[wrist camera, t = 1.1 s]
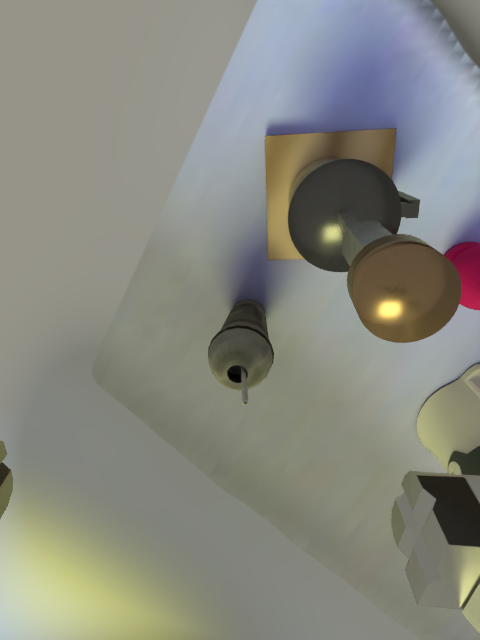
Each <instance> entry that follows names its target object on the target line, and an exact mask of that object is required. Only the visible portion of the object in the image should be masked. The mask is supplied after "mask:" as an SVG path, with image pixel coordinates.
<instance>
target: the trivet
mask: <svg viewBox="0 0 480 640" xmlns="http://www.w3.org/2000/svg"><path fill="white" fill-rule="evenodd" d="M395 137H396V128H392V129H376V130H359V131H342V132H325V133H308V134H292V135H275V136H265V152H266V189H267V226H268V260H281V259H304V258H303V257H302V256H301V255H300V253H299V252H298V251H297V249H296V248H295V246H294V244H293V242H292V240H291V237H290V233H289V228H288V209H289V202H288V198H289V191H290V187H291V184H292V182H293V180H294V178H295V177H296V175H297V174H298V173H299V172H300V170H301V169H303V168H304V167H305V166H306V165H307V164H309V163H311V162H312V161H315V160H317V159H320V158H325V157H337V158H342V159H357V160H362V161H365V162H369V163H371V164H373V165H375V166H377V167H378V168H380V169H381V170H383V171H384V172H385V173H386V174H387V175H388V176H389V177H390V179H391V180H392V172H393V160H394V149H395Z"/></svg>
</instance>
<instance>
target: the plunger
mask: <svg viewBox="0 0 480 640" xmlns="http://www.w3.org/2000/svg"><path fill="white" fill-rule="evenodd" d="M342 254H343V255H344V257H345V259H346V261H347V263H348V264H349V266H350V268H349V271H348V276H347V287H348V292H349V295H350V298H351V300H352V302H353V304H354V307H355V309H356V311H357V313H358V315H359V318H360V320H361V321H362V323H363V324H364V326H365V327H366V328H367V329H368V330H369V331H370V332H371V333H373V334H374V335H376V336H377V337H379V338H381V339H384V340H387V341H391V342H398V343H406V342H414V341H418V340H421V339H424V338H427V337H429V336H431V335H433V334H434V333H436V332H437V331H439V330H440V329H441V328H443V327H444V326H445V325H446V324H447V323H448V322H449V321H450V319H451V318H452V317H453V315H454V314H455V312H456V310H457V308H458V305H459V303H460V299H461V293H462V285H461V279H460V276H459V273H458V271H457V269H456V267H455V266H454V265H453V263H452V262H451V261H450V260H449V259H448V258H447V257H445V256H444V255H443V254H441V253H440V252H438V251H437V250H435V249H434V248H433V247H431V246H430V245H428V244H427V243H425V242H424V241H422V240H421V239H419V238H417V237H414V236H411V235H405V234H392V233H390V232H389V231H388V230H387V229H386V228H384V227H383V226H382V225H381V224H380V223H378V222H377V221H351V222H343V244H342Z"/></svg>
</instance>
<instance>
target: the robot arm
mask: <svg viewBox="0 0 480 640" xmlns="http://www.w3.org/2000/svg"><path fill="white" fill-rule="evenodd" d="M417 433H418V436H419V438H420V440H421V442H422V444H423V445H424V446H425V447H426V448H427V449H428V450H429V451H430V452H431V453H432V454H433V455H434V456H435V457H436V458H437V459H438V460H439V462H440V463H441V464H442V466H443V467H444V468H445V470H446V471H447V473H434V472H418V471H409V472H408V473H407V474H406V475H405V476H404V479H403V481H402V487H403V489H404V492H405V493H403V494H402V495H400V496H399V497H397V498H396V499H395V502H394V505H393V508H392V518H391V525H392V531H393V536H394V539H395V542H396V545H397V548H398V549H399V550H400V551H401V552H402V553H403V554H404V555H405V556H406V557H407V558H408V559H409V560H408V562H407V565H406V568H405V572H406V575H407V578H408V580H409V583H410V586H411V589H412V592H413V595H414V598H415V601H416V604H417V606H426V607H436V608H446V609H457V610H463V611H462V613H463V615H464V616H465V617H466V618H467V619H468V621H469V622H470V623H471V624H472V625H473V626H474V628H475V629H476V630H477V631H478V632H479V634H480V364H476V365H474V366H472V367H471V368H469V369H468V370H467V371H466V372H465V373H464V374H463V375H462V376H461V377H460V378H459V379H458V380H456V381H455V382H453V383H451V384H449V385H447V386H445V387H443V388H441V389H440V390H438V391H437V392H436V393H434V394H433V395H432V396H431V397H430V398H429V399H428V400H427V401H426V403H425V404H424V405H423V407H422V409H421V410H420V413H419V415H418V419H417ZM6 455H7V452H6V449H5V445H4V442H2V441H0V518H1V517H2V515H3V513H4V511H5V509H6V508H7V506H8V503H9V500H10V496H11V493H12V487H13V477H12V472H11V470H10V469H9V468H8V467H7V466H6V465H5V464H4V463H2V461H3V459H4V458H5V457H6Z"/></svg>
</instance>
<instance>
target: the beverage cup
mask: <svg viewBox="0 0 480 640" xmlns="http://www.w3.org/2000/svg"><path fill="white" fill-rule="evenodd" d="M208 358H209V365H210V368H211V371H212V374H213V375H214V376H215V378H216V379H217V380H218V381H219V382H220V383H221V384H223V385H224V386H225V387H228V388H230V389H233V390H242V396H243V404H244V405H247V404H248V393H247V389H251V388H253V387H255V386H257V385H259V384H260V383H261V382H262V381H263V380H264V379H265V378H266V376H267V374H268V372H269V370H270V368H271V366H272V364H273V358H274V352H273V348H272V345H271V343H270V341H269V338H268V331H267V324H266V317H265V313H264V310H263V308H262V307H261V305H260V304H259V303H257V302H255V301H253V300H242V301H240V302H238V303H237V304H236V305H235V306H234V307H233V309H232V310H231V312H230V314H229V316H228V317H227V319H226V321H225V323H224V325H223V327H222V329H221V331H220V332H218V333H217V334H216V336H215V337H214V338H213V339H212V341H211V343H210V346H209V350H208Z"/></svg>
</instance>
